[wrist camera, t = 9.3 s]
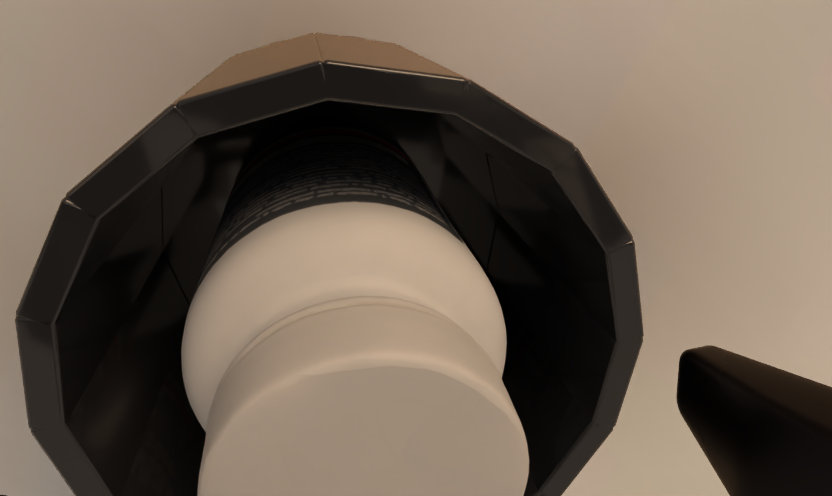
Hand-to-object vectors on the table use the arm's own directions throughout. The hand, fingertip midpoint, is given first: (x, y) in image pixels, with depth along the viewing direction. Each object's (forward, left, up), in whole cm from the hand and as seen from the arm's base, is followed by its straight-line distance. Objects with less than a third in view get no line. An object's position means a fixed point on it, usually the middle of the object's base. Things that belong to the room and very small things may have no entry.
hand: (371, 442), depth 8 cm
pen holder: (0, 0, -8) cm, 8 cm away
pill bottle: (0, 0, -8) cm, 8 cm away
